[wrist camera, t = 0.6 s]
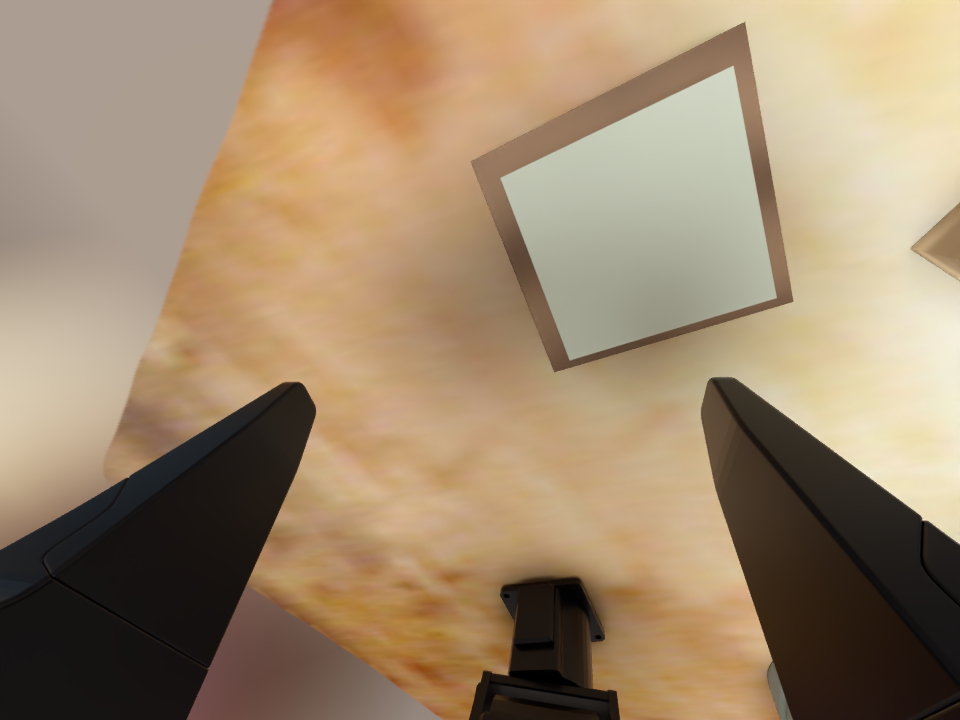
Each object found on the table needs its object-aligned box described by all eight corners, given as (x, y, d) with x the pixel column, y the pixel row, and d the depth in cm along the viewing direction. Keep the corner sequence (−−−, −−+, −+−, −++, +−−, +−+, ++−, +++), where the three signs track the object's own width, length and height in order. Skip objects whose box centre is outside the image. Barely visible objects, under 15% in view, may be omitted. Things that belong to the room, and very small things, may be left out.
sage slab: (756, 285, 18) (776, 298, 16) (569, 344, 21) (569, 360, 19) (714, 78, 15) (733, 65, 14) (507, 177, 18) (500, 177, 16)
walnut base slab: (772, 289, 20) (793, 301, 18) (555, 357, 23) (554, 372, 22) (725, 38, 16) (744, 21, 15) (479, 162, 20) (470, 161, 18)
